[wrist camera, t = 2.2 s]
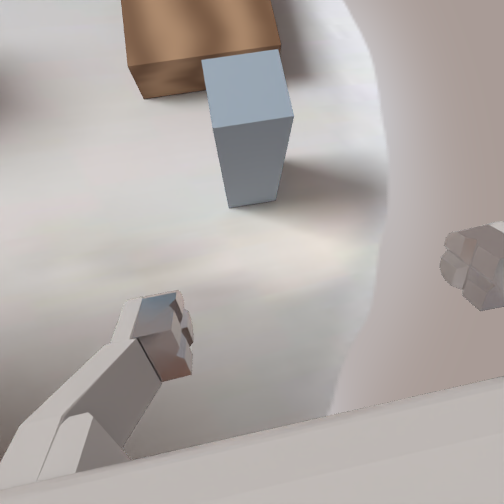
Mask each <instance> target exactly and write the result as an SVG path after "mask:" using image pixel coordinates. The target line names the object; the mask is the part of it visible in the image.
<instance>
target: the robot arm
mask: <svg viewBox="0 0 504 504" xmlns="http://www.w3.org/2000/svg"><path fill="white" fill-rule="evenodd" d="M444 246H445V247H446V248H447V251H446V252H445V253H444V254H443V256H442V257H441V261H440V270H441V274H442V276H443V277H444V279H445V281H447V282H448V283H449V284H450V285H451V286H453V287H456V288H458V289H461V290H462V295H463V297H465V298H466V299H467V300H468V301H469V302H470V303H471V304H472V305H474V306H475V307H476V308H477V309H478V310H479V311H483V310H489V309H495V308H500V307H504V221H498V222H494V223H489V224H486V225H482V226H479V227H474V228H470V229H465V230H460V231H456V232H451V233H449V234H448V236H447V237H446V239H445V244H444ZM193 335H194V334H193V325H192V321H191V317H190V314H189V311H187V310H186V309H184V299H183V296H182V294H181V292H180V291H179V290H175V291H170V292H165V293H160V294H154V295H149V296H145V297H139V298H134V299H130V300H127V301H126V302H125V303H124V305H123V308H122V311H121V314H120V316H119V319H118V322H117V325H116V328H115V331H114V333H113V336H112V339H111V342H110V344H107V345H104V346H103V347H102V348H101V349H100V350H99V351H98V352H96V353H95V354H94V355H93V356H92V357H91V358H90V359H89V360H88V361H87V362H86V363H85V364H84V365H83V366H82V367H81V368H80V369H79V370H78V371H77V372H75V373H74V374H73V375H72V376H71V377H70V378H69V379H68V380H67V381H66V382H65V383H64V384H63V385H62V386H61V387H60V388H59V389H58V390H57V391H56V392H54V393H53V394H52V395H51V396H50V397H49V398H48V399H47V400H46V401H45V402H44V403H43V404H42V405H41V406H40V407H39V408H38V409H37V410H36V411H35V412H33V413H32V414H31V415H30V416H29V417H28V418H27V419H26V420H25V421H24V422H23V423H22V424H21V425H20V426H19V428H18V430H17V432H16V434H15V436H14V437H13V439H12V441H11V443H10V445H9V447H8V449H7V451H6V453H5V455H4V456H3V458H2V460H1V462H0V504H504V376H502V377H497V378H493V379H488V380H484V381H479V382H475V383H471V384H466V385H462V386H457V387H453V388H449V389H444V390H440V391H435V392H432V393H427V394H422V395H418V396H413V397H409V398H404V399H400V400H396V401H392V402H387V403H382V404H378V405H374V406H369V407H365V408H361V409H357V410H352V411H347V412H343V413H338V414H334V415H330V416H325V417H321V418H316V419H312V420H307V421H303V422H299V423H294V424H290V425H285V426H281V427H277V428H272V429H268V430H263V431H259V432H254V433H250V434H246V435H241V436H237V437H232V438H228V439H223V440H219V441H215V442H210V443H206V444H201V445H197V446H192V447H188V448H184V449H179V450H175V451H170V452H166V453H162V454H157V455H153V456H148V457H144V458H139V459H135V460H131V459H130V458H129V457H128V456H127V455H126V453H125V452H124V451H123V450H122V447H123V446H124V444H125V442H126V441H127V439H128V438H129V436H130V434H131V433H132V431H133V430H134V428H135V426H136V425H137V423H138V422H139V420H140V418H141V417H142V415H143V413H144V412H145V410H146V409H147V407H148V405H149V404H150V402H151V401H152V399H153V397H154V396H155V394H156V393H157V391H158V389H159V388H160V386H161V384H162V383H161V382H164V381H168V380H172V379H176V378H180V377H184V376H188V375H192V359H193V354H192V351H191V349H190V346H191V344H192V343H193Z"/></svg>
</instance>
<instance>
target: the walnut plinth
mask: <svg viewBox="0 0 504 504" xmlns="http://www.w3.org/2000/svg"><path fill="white" fill-rule="evenodd" d="M121 5H122V15H123V24H124V34H125V44H126V54H127V63H128V68H129V70H130V72H131V74H132V76H133V78H134V80H135V82H136V84H137V86H138V88H139V90H140V92H141V94H142V96H143V98H144V99H147V98H154V97H160V96H167V95H174V94H181V93H188V92H194V91H201V90H206V85H205V79H204V73H203V67H202V61H201V60H205V59H212V58H219V57H226V56H233V55H240V54H247V53H254V52H261V51H268V50H275V49H278V51H279V55H280V50H281V42H280V38H279V34H278V30H277V25H276V21H275V17H274V13H273V9H272V5H271V0H121Z"/></svg>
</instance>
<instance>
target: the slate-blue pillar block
mask: <svg viewBox="0 0 504 504" xmlns="http://www.w3.org/2000/svg"><path fill="white" fill-rule="evenodd" d="M201 61H202V67H203V73H204V79H205V85H206V91H207V97H208V103H209V109H210V115H211V121H212V127H213V132H214V137H215V142H216V147H217V152H218V157H219V162H220V167H221V172H222V177H223V182H224V187H225V192H226V196H227V201H228V206H229V208H233V207H239V206H245V205H251V204H257V203H263V202H269V201H275V200H276V196H277V192H278V187H279V182H280V178H281V173H282V169H283V164H284V159H285V155H286V150H287V146H288V141H289V136H290V132H291V127H292V123H293V118H294V114H293V110H292V106H291V101H290V97H289V93H288V89H287V84H286V80H285V76H284V72H283V67H282V63H281V59H280V55H279V51H278V49H275V50H268V51H261V52H254V53H247V54H240V55H233V56H226V57H219V58H212V59H205V60H201Z"/></svg>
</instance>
